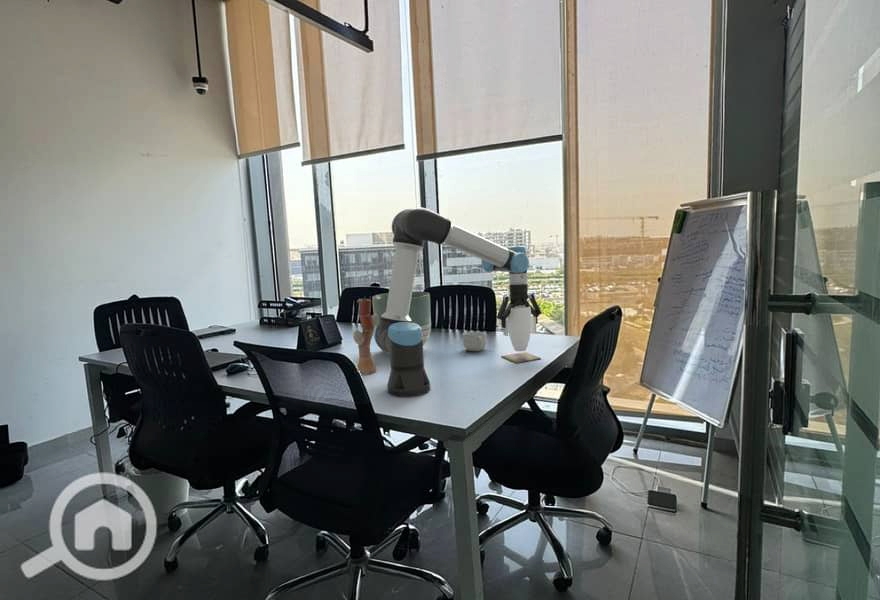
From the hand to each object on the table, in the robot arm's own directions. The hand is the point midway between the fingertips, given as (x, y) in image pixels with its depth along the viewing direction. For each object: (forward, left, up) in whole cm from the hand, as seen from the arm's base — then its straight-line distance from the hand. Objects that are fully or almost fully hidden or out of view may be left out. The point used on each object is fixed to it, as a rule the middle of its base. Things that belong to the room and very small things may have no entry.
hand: (519, 333), depth 203 cm
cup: (0, 0, -10) cm, 10 cm away
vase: (-62, +15, -11) cm, 65 cm away
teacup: (-10, +23, -11) cm, 27 cm away
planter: (-39, +40, -11) cm, 57 cm away
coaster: (0, 0, -11) cm, 11 cm away
